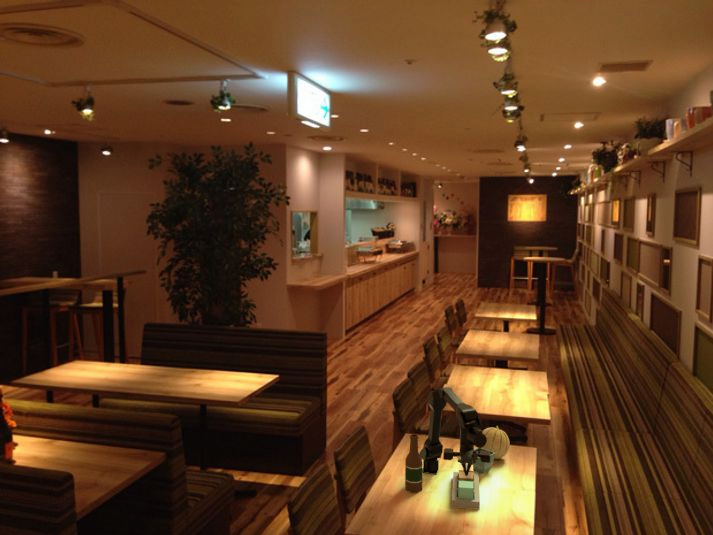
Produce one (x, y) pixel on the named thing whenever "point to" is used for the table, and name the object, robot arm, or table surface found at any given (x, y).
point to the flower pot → (483, 463)
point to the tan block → (465, 478)
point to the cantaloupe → (496, 442)
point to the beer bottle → (413, 467)
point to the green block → (465, 490)
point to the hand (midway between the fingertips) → (466, 475)
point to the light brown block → (466, 468)
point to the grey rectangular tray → (465, 502)
